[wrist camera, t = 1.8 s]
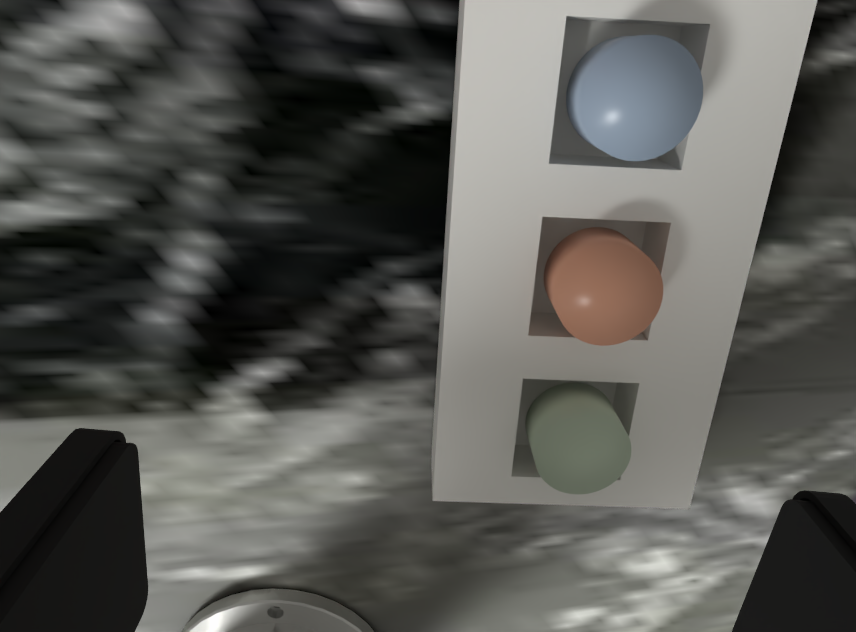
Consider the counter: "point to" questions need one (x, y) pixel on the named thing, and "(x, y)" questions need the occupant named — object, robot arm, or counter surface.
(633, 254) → the button terracotta
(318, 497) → the counter surface
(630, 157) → the button slate
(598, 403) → the button sage
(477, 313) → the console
